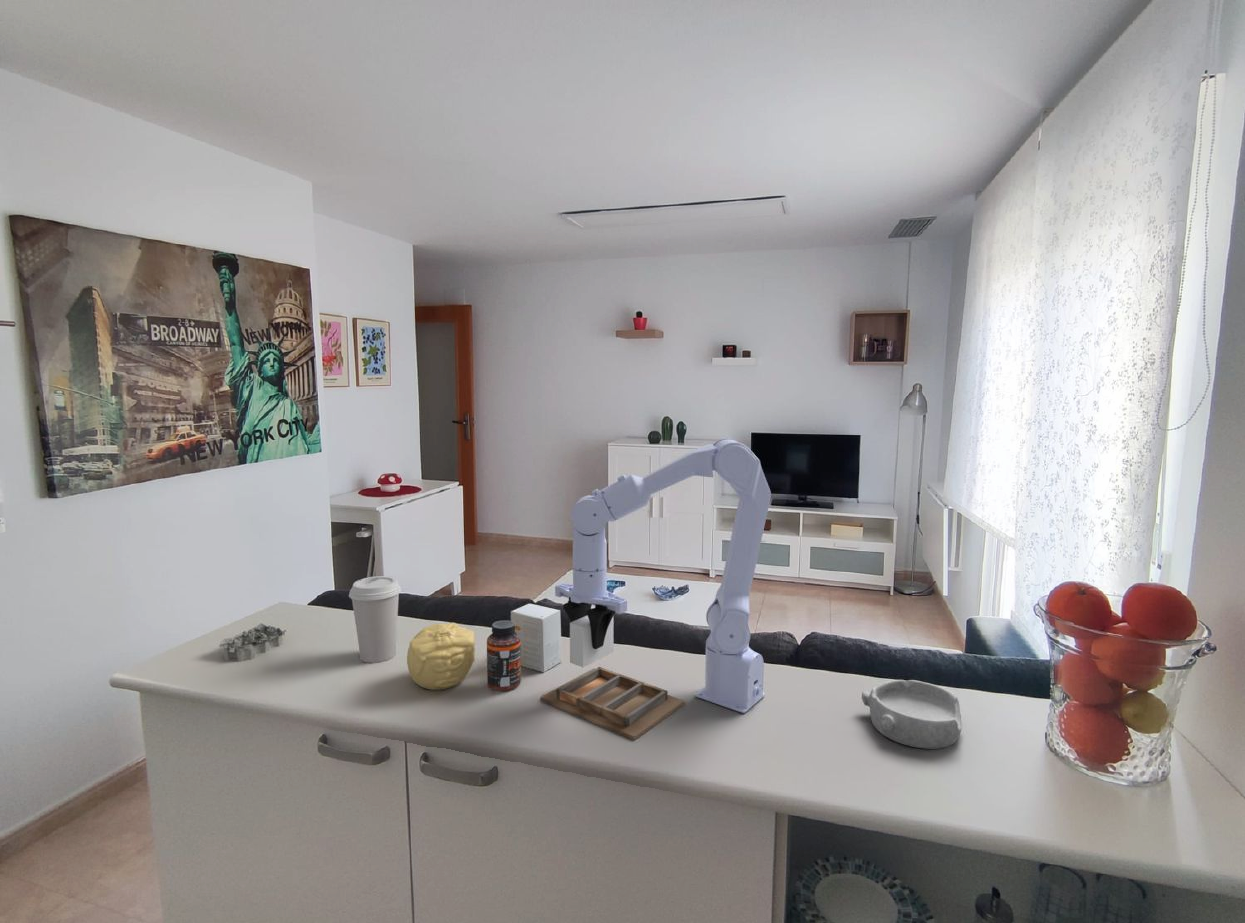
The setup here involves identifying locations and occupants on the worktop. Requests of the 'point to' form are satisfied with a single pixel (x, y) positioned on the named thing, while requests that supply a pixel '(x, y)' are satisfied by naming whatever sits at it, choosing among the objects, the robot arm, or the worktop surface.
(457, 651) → the sculpture
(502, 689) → the supplement bottle
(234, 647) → the egg carton
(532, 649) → the small box
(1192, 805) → the worktop surface
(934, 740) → the dish
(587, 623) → the blanking panel
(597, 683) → the slot rack
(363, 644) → the coffee cup
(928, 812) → the worktop surface
